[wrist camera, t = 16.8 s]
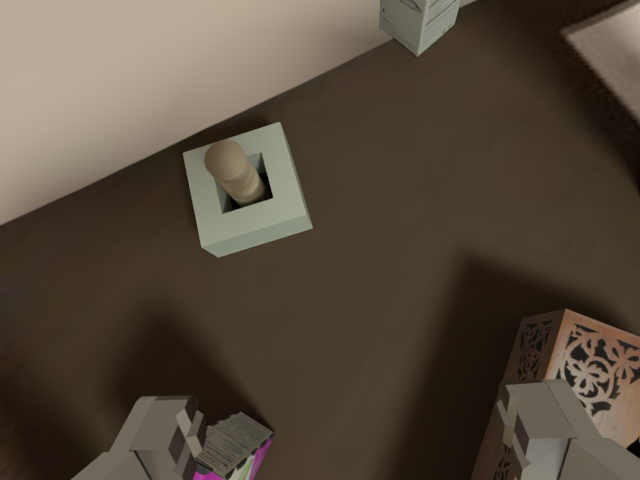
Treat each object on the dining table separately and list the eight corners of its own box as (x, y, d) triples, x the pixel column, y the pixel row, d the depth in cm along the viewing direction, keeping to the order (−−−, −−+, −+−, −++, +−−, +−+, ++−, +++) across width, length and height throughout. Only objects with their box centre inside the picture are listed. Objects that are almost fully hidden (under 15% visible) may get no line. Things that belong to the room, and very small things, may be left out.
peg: (266, 179, 50) (238, 134, 39) (273, 208, 49) (247, 169, 38) (236, 189, 50) (200, 146, 40) (243, 218, 49) (208, 181, 38)
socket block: (288, 143, 51) (279, 121, 46) (313, 228, 47) (306, 214, 43) (200, 171, 51) (182, 152, 47) (218, 257, 48) (201, 247, 43)
